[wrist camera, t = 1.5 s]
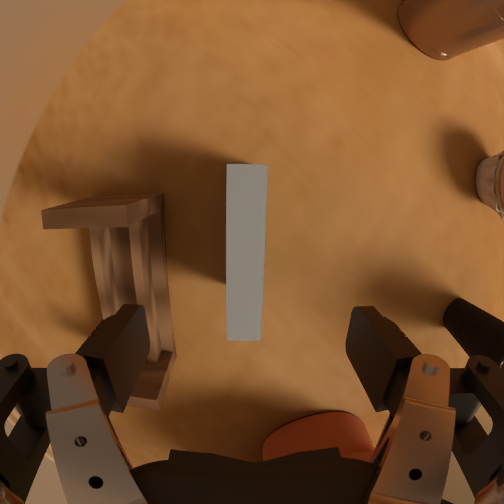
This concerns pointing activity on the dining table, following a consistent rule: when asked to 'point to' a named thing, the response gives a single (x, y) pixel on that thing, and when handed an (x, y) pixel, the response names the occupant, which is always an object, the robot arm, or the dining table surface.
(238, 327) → the gray rectangular slab
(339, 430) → the potted cactus
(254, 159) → the dining table surface
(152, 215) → the wooden card holder
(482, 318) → the drinking cup
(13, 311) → the dining table surface
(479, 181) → the cupcake
